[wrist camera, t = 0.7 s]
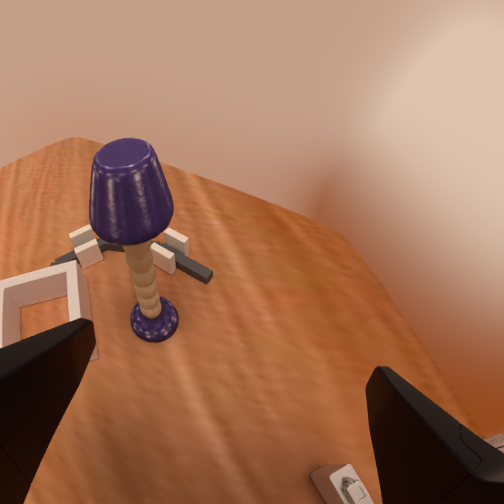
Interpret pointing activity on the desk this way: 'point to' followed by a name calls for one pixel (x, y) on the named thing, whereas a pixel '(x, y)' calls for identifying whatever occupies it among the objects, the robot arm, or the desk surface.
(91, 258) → the clip
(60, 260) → the cable run
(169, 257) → the clip
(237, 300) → the desk surface
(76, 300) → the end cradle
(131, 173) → the toy lamp
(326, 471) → the lighter
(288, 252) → the desk surface
